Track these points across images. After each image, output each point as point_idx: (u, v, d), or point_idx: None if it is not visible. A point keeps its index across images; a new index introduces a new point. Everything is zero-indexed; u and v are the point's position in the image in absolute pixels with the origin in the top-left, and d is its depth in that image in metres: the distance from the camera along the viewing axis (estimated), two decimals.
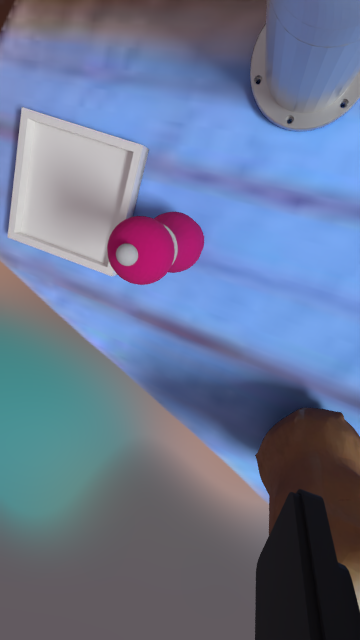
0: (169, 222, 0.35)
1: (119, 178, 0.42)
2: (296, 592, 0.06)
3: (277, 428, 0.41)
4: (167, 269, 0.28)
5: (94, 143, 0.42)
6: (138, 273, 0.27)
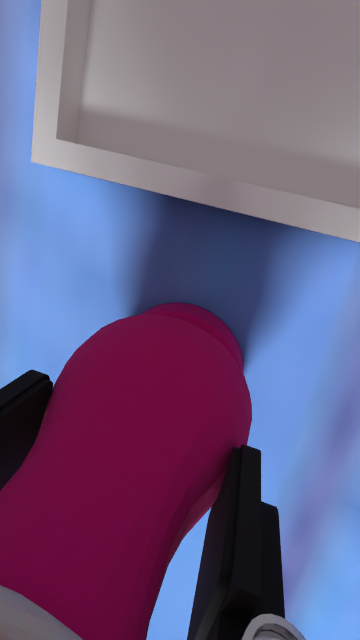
0: (202, 506, 0.08)
1: None
2: (223, 519, 0.07)
3: None
4: None
5: None
6: None
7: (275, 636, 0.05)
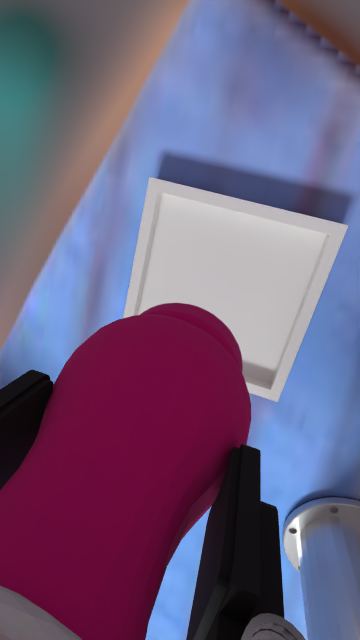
0: (201, 506, 0.08)
1: None
2: (222, 519, 0.07)
3: None
4: None
5: (287, 327, 0.30)
6: None
7: (274, 635, 0.05)
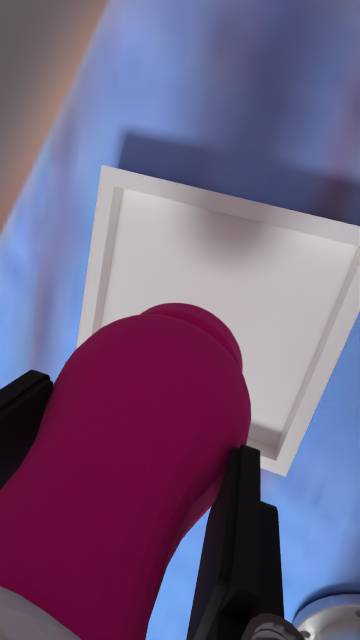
0: (201, 506, 0.08)
1: None
2: (222, 519, 0.07)
3: None
4: None
5: (298, 375, 0.22)
6: None
7: (274, 636, 0.05)
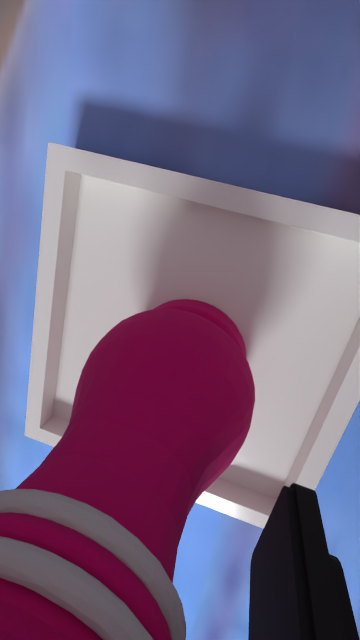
0: (214, 469, 0.10)
1: None
2: (287, 582, 0.06)
3: None
4: None
5: (307, 413, 0.17)
6: None
7: None
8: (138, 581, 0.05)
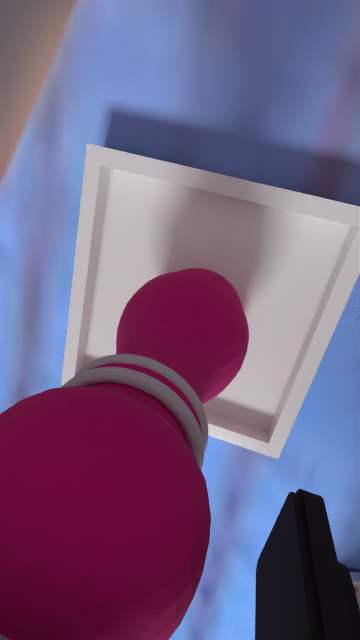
0: (220, 376, 0.14)
1: (228, 397, 0.24)
2: (296, 592, 0.06)
3: None
4: None
5: (290, 358, 0.22)
6: None
7: None
8: (184, 394, 0.10)
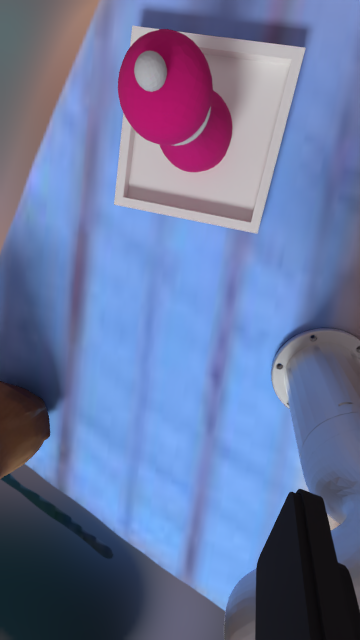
0: (216, 123, 0.28)
1: (224, 201, 0.37)
2: (296, 592, 0.06)
3: (14, 400, 0.45)
4: (147, 139, 0.21)
5: (261, 163, 0.35)
6: (130, 95, 0.19)
7: None
8: None
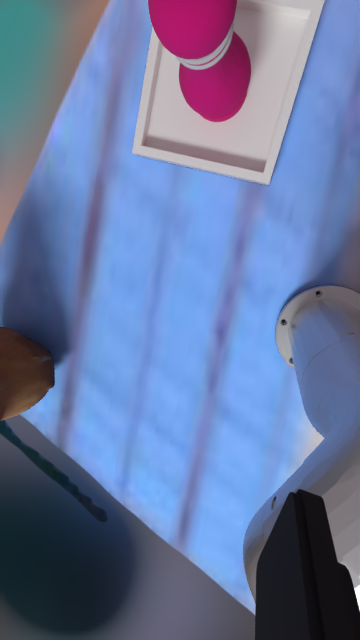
0: (236, 60, 0.29)
1: (238, 152, 0.38)
2: (296, 592, 0.06)
3: (22, 344, 0.46)
4: (172, 49, 0.23)
5: (276, 115, 0.36)
6: None
7: None
8: None
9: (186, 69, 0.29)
